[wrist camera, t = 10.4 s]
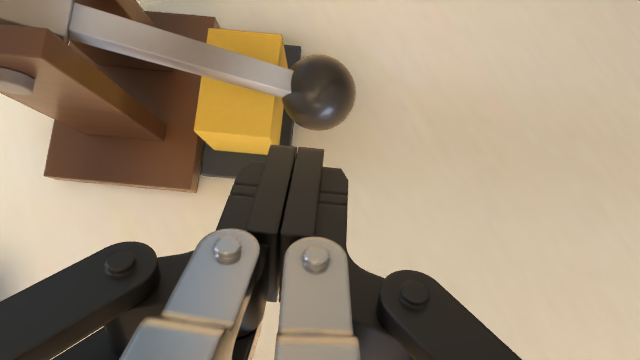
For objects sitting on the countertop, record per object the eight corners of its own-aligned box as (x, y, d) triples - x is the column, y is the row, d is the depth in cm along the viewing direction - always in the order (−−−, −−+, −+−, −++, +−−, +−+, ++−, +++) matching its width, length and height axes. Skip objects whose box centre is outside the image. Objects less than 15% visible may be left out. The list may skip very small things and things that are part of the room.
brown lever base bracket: (219, 27, 26) (139, -151, 14) (196, 192, 25) (85, 142, 13) (87, 15, 26) (-99, -171, 15) (56, 179, 25) (-180, 118, 13)
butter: (301, 50, 26) (297, 8, 21) (286, 183, 25) (279, 169, 20) (221, 43, 26) (200, -1, 21) (202, 175, 25) (176, 159, 20)
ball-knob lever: (333, 78, 24) (373, 57, 21) (327, 142, 23) (367, 129, 20) (-5, -28, 17) (-22, -86, 14) (-25, 60, 16) (-48, 21, 13)
